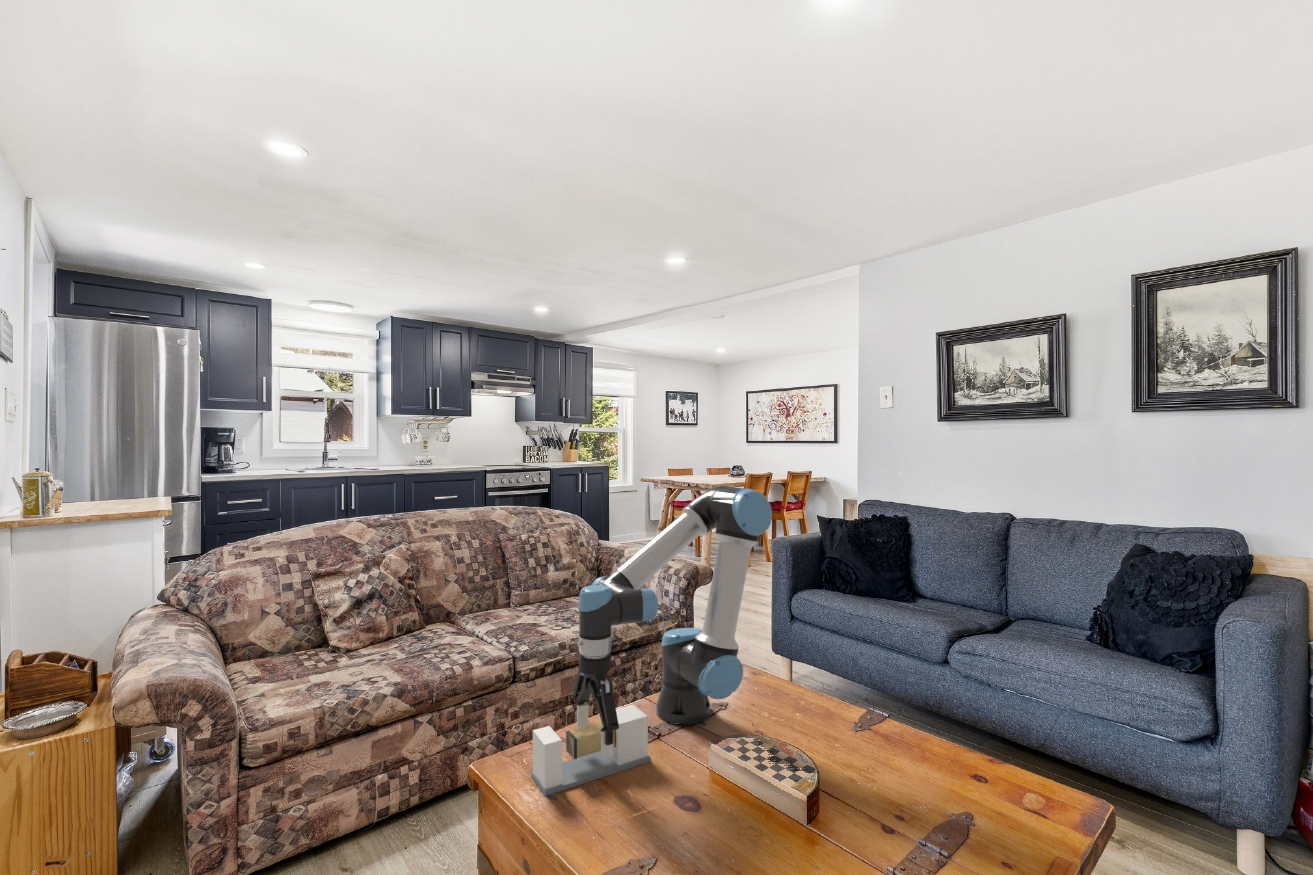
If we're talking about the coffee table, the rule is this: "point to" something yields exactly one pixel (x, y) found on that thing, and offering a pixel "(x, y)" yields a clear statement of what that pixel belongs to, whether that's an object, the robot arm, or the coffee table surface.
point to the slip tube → (585, 740)
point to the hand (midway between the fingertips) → (594, 743)
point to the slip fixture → (590, 767)
